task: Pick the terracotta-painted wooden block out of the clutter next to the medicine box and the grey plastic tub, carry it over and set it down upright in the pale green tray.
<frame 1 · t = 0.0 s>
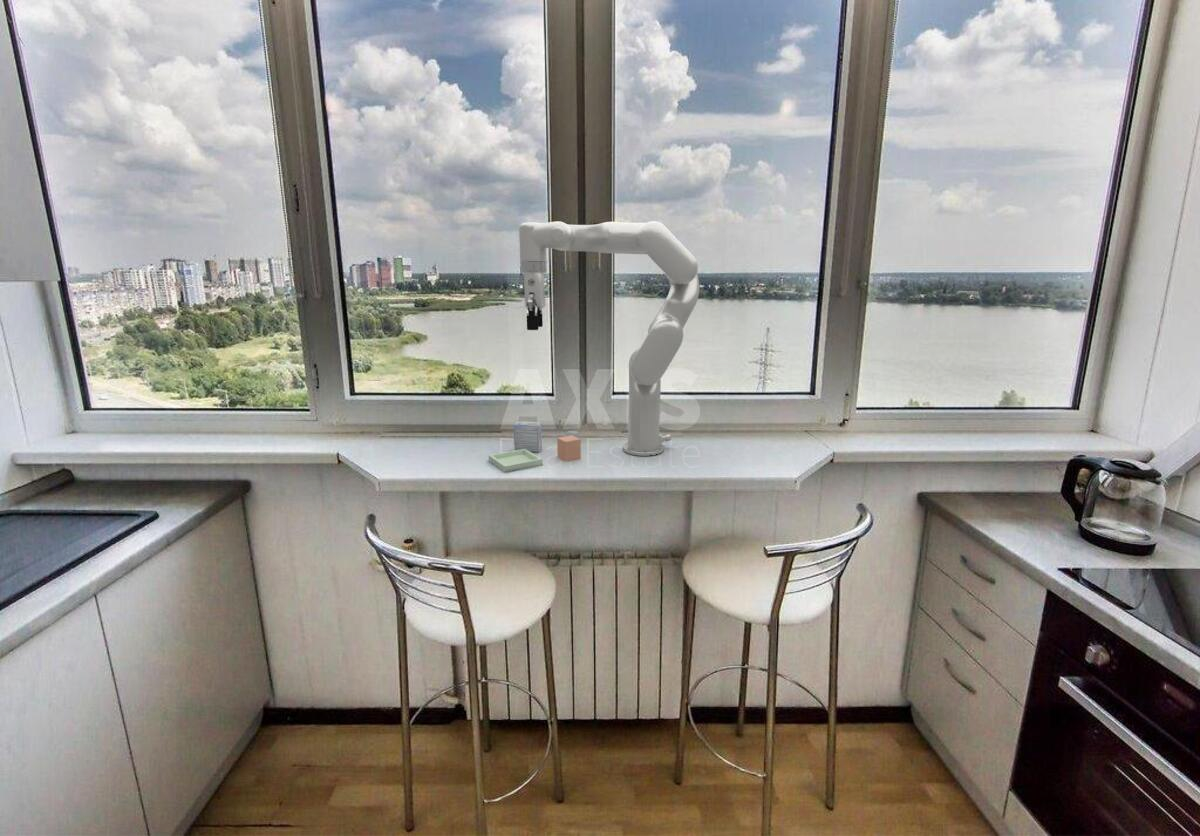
hand: (535, 328, 166), 37 cm above the table, tool pointing down, fingers open, 9 cm apart
tray: (515, 463, 162), on the table
medicine box: (528, 450, 174), on the table
grey tub: (572, 447, 177), on the table
terracotta block: (569, 457, 167), on the table
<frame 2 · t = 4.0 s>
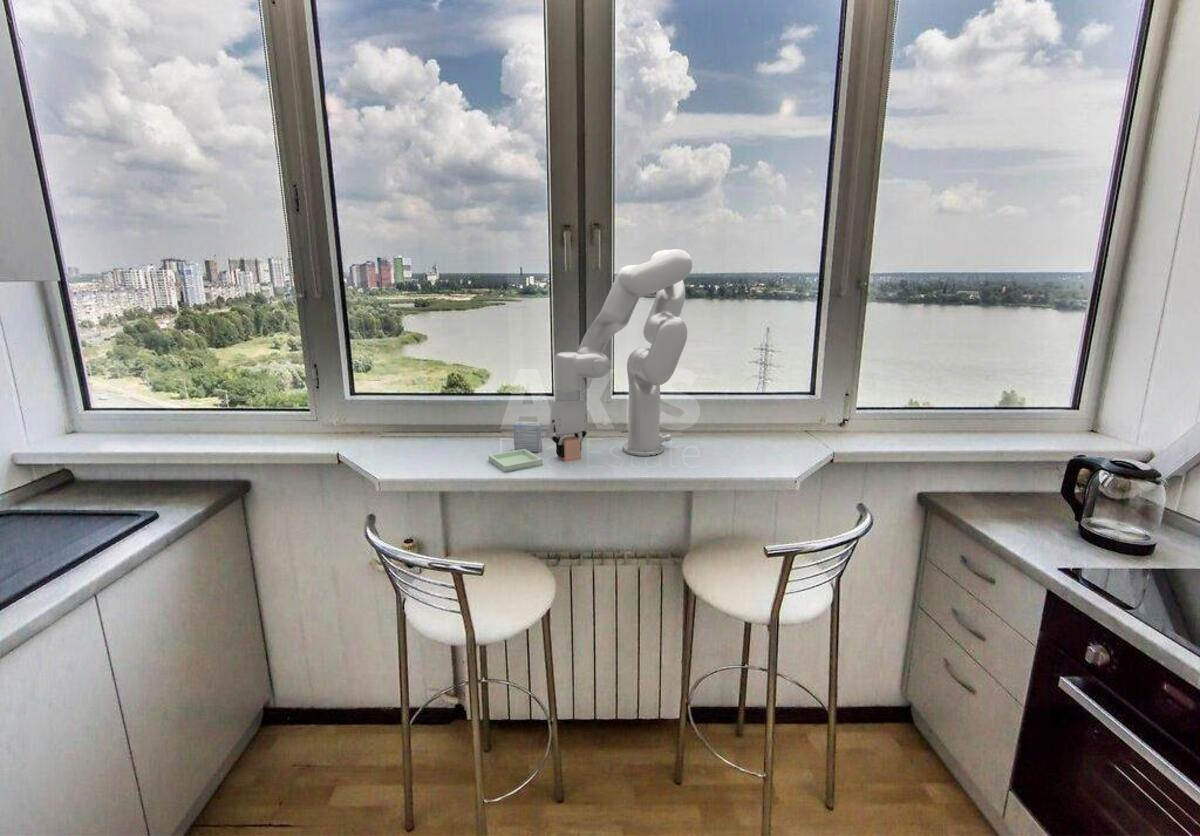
hand: (568, 454, 167), 1 cm above the table, tool pointing down, fingers closed on terracotta block, 5 cm apart
terracotta block: (569, 457, 167), on the table, touching gripper
everything else where it was.
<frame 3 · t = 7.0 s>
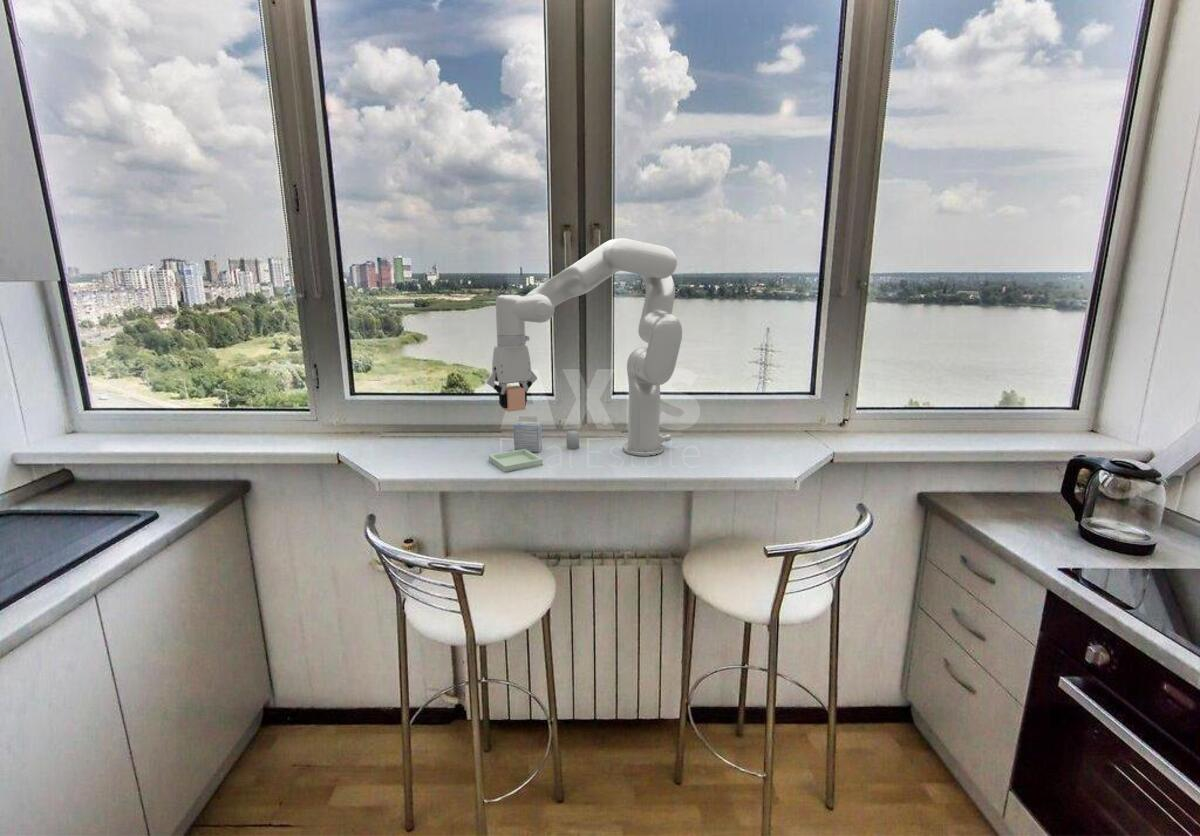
hand: (513, 405, 158), 17 cm above the table, tool pointing down, fingers closed on terracotta block, 5 cm apart
terracotta block: (513, 408, 158), point 16 cm above the table, touching gripper
everything else where it was.
when the fingers open (3 cm above the table, at t = 10.3 s): terracotta block drops 1 cm, resting on tray.
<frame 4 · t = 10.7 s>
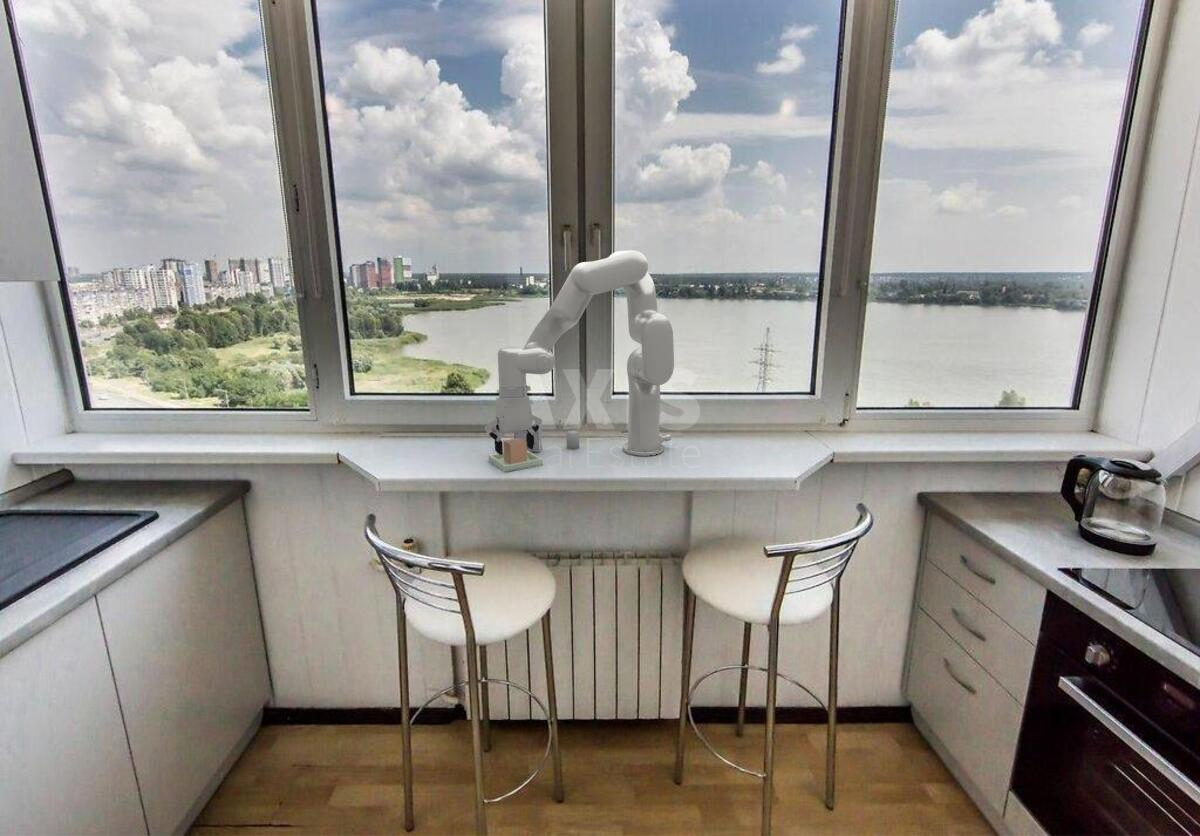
hand: (515, 450, 161), 4 cm above the table, tool pointing down, fingers open, 9 cm apart
terracotta block: (515, 461, 162), resting on tray
everything else where it was.
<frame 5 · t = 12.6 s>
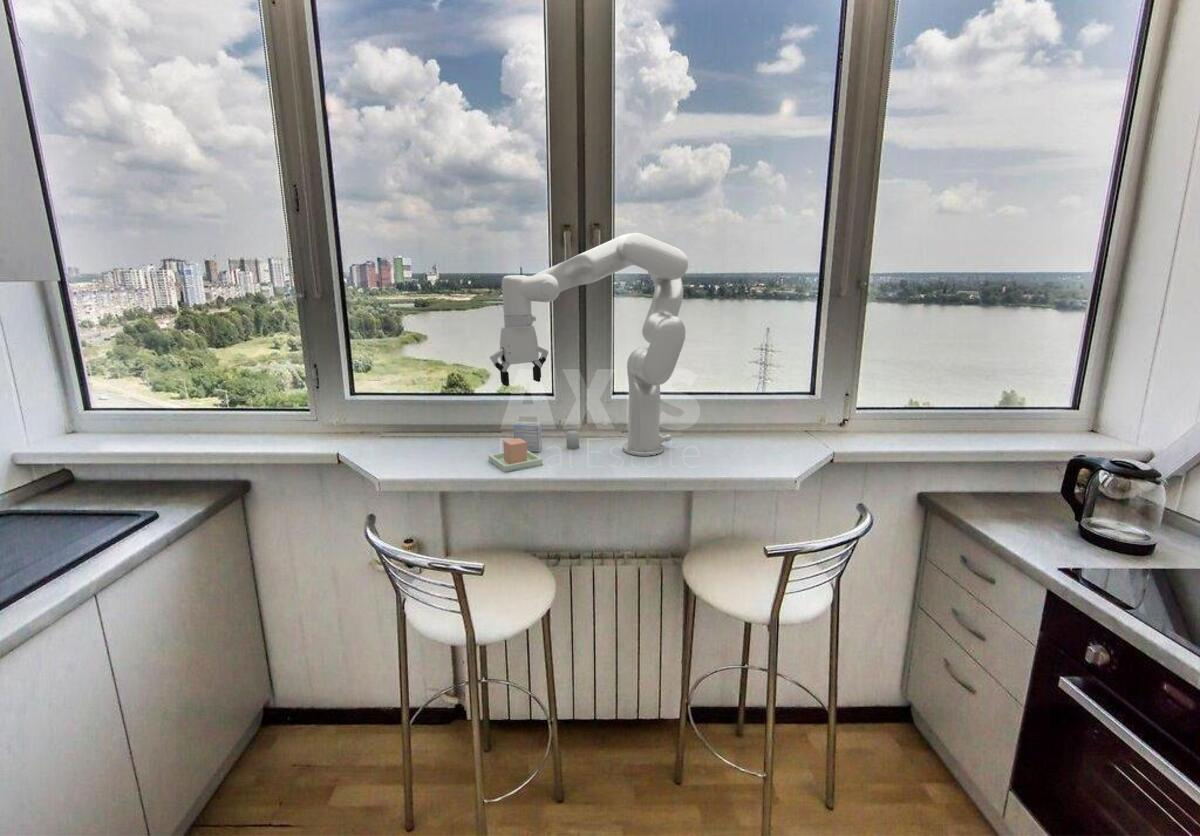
hand: (521, 383, 158), 23 cm above the table, tool pointing down, fingers open, 9 cm apart
nothing on the table moved.
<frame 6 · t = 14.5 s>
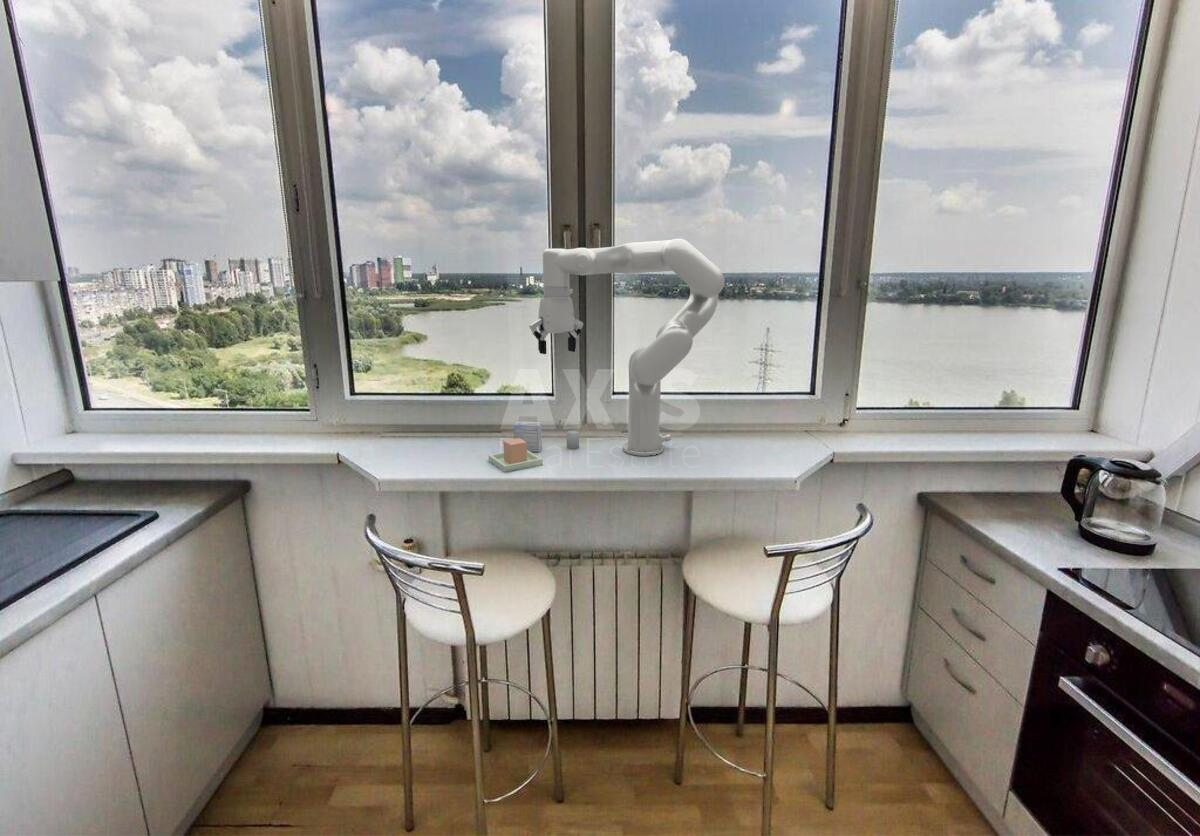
hand: (557, 352, 167), 30 cm above the table, tool pointing down, fingers open, 9 cm apart
nothing on the table moved.
at the end: terracotta block inside the target area on the tray (0.1 cm from its centre), point 0.5 cm above the tray's base; terracotta block tilted 0°; the gripper is holding nothing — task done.
